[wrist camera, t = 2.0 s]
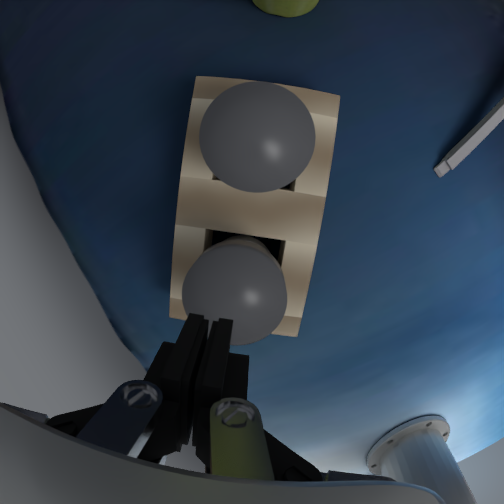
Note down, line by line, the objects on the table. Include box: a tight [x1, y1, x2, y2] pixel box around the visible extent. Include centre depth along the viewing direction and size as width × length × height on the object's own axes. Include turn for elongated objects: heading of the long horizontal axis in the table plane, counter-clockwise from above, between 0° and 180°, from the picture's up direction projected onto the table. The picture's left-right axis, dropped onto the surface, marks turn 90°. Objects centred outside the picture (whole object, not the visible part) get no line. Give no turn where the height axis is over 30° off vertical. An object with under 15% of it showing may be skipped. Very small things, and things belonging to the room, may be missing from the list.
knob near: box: [199, 81, 316, 193], centre depth 18 cm, size 6×6×6 cm
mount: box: [169, 76, 340, 337], centre depth 22 cm, size 18×10×4 cm, turn 172°
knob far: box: [182, 235, 287, 345], centre depth 20 cm, size 6×6×6 cm
